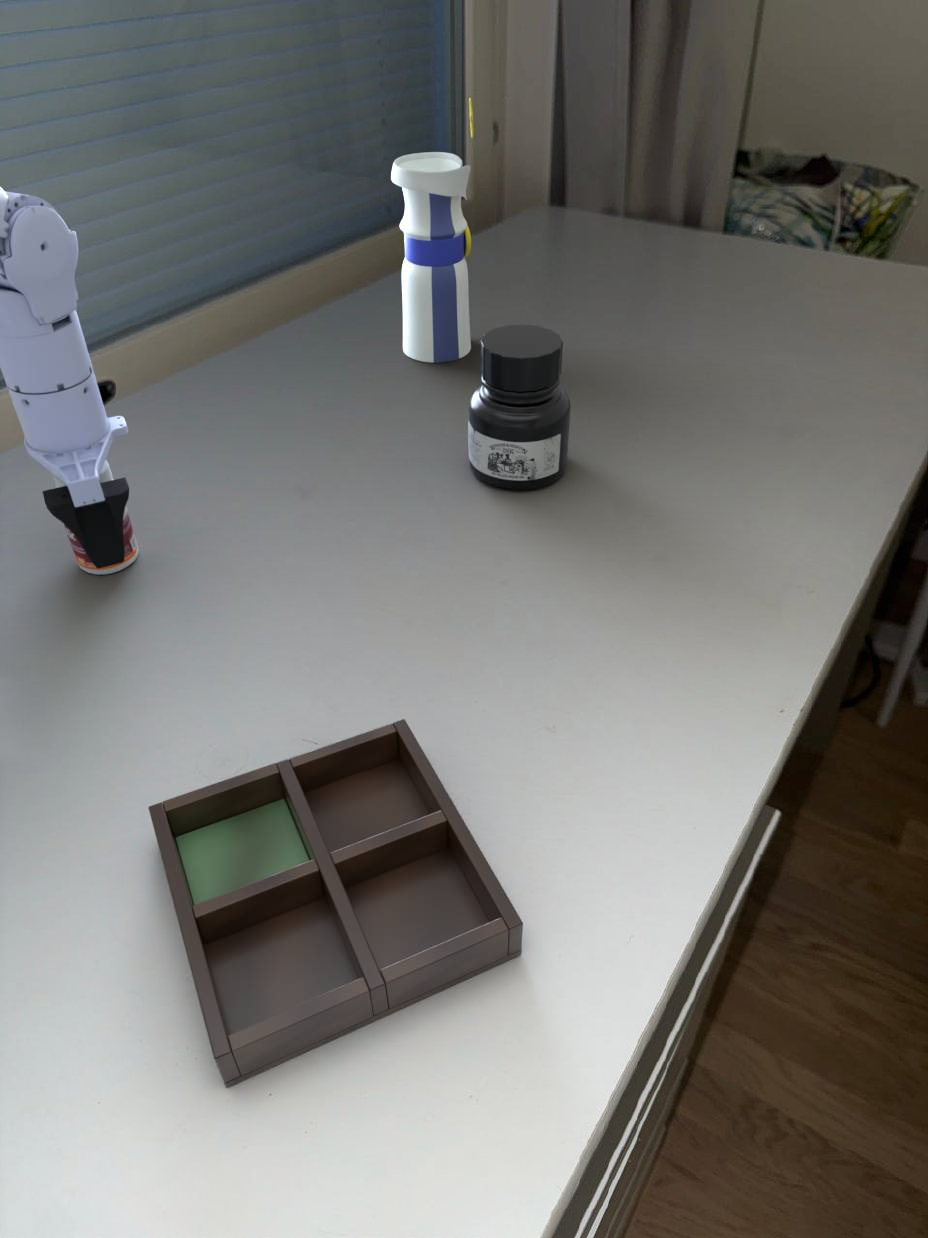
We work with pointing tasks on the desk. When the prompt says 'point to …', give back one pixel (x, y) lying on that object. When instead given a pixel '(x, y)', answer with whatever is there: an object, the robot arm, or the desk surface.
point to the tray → (327, 896)
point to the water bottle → (434, 255)
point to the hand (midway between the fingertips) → (102, 536)
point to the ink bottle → (519, 409)
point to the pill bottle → (128, 533)
